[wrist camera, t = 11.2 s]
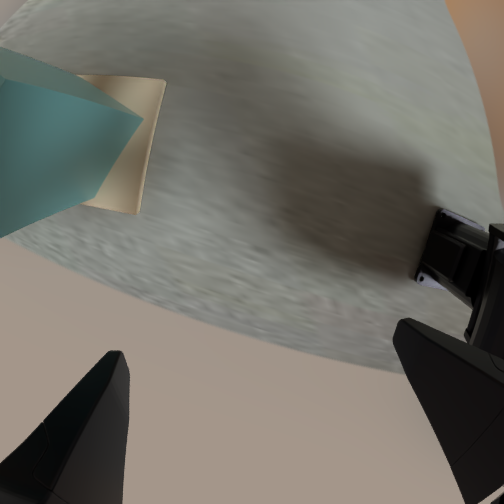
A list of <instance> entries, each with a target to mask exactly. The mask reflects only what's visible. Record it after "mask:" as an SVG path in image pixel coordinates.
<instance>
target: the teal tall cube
mask: <svg viewBox="0 0 504 504" xmlns="http://www.w3.org/2000/svg"><path fill="white" fill-rule="evenodd" d="M143 120H144V119H143V118H142V117H140V116H139V115H137V114H136V113H134V112H133V111H131V110H130V109H128V108H127V107H125V106H124V105H122V104H121V103H119V102H118V101H116V100H115V99H113V98H112V97H110V96H109V95H107V94H106V93H104V92H103V91H101V90H100V89H98V88H97V87H95V86H94V85H92V84H90V83H89V82H87V81H86V80H84V79H83V78H81V77H79V76H76V75H74V74H72V73H69V72H67V71H64V70H62V69H59V68H57V67H54V66H52V65H49V64H47V63H44V62H42V61H39V60H36V59H34V58H31V57H28V56H25V55H22V54H20V53H17V52H14V51H11V50H8V49H5V48H2V47H0V238H2V237H4V236H6V235H8V234H10V233H12V232H14V231H16V230H19V229H21V228H23V227H25V226H27V225H30V224H32V223H34V222H36V221H39V220H41V219H43V218H45V217H48V216H50V215H53V214H55V213H57V212H60V211H62V210H65V209H67V208H70V207H72V206H75V205H77V204H80V203H82V202H85V201H88V200H90V199H93V198H95V196H96V194H97V192H98V191H99V189H100V187H101V185H102V184H103V182H104V180H105V178H106V177H107V175H108V173H109V172H110V170H111V168H112V167H113V165H114V163H115V162H116V160H117V159H118V157H119V155H120V154H121V152H122V151H123V149H124V148H125V146H126V145H127V143H128V142H129V140H130V139H131V137H132V136H133V134H134V133H135V131H136V130H137V128H138V127H139V125H140V124H141V123H142V121H143Z"/></svg>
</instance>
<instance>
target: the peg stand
mask: <svg viewBox="0 0 504 504" xmlns="http://www.w3.org/2000/svg"><path fill="white" fill-rule="evenodd" d="M76 76H79V77H81V78H83V79H84V80H86V81H87V82H89V83H90V84H92V85H94V86H95V87H97V88H98V89H100V90H101V91H103V92H104V93H106V94H107V95H109V96H110V97H112V98H113V99H115V100H116V101H118V102H119V103H121V104H122V105H124V106H125V107H127V108H128V109H130V110H131V111H133V112H134V113H136V114H137V115H139V116H140V117H142V118H143V119H144V120H143V121H142V123H141V124H140V125H139V127H138V128H137V130H136V131H135V133H134V134H133V136H132V137H131V139H130V140H129V142H128V143H127V145H126V146H125V148H124V149H123V151H122V152H121V154H120V155H119V157H118V159H117V160H116V162H115V163H114V165H113V167H112V168H111V170H110V172H109V173H108V175H107V177H106V178H105V180H104V182H103V184H102V185H101V187H100V189H99V191H98V192H97V194H96V196H95V198H93V199H90V200H88V201H85V202H82V203H80V204H83V205H88V206H93V207H98V208H103V209H108V210H113V211H118V212H123V213H128V214H133V215H136V214H137V213H139V212H140V207H141V200H142V194H143V188H144V182H145V176H146V171H147V166H148V160H149V155H150V150H151V146H152V141H153V136H154V132H155V127H156V123H157V119H158V115H159V111H160V107H161V103H162V99H163V95H164V91H165V88H166V84H167V83H166V82H165V81H164V80H162V79H152V78H142V77H128V76H110V75H76Z"/></svg>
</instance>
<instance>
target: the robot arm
mask: <svg viewBox="0 0 504 504" xmlns="http://www.w3.org/2000/svg"><path fill="white" fill-rule="evenodd" d="M442 213H443V216H442V217H441V214H442ZM489 232H490V233H487V232H485V228H484V227H482V226H480V225H478V224H476V223H474V222H472V221H470V220H467V219H465V218H463V217H461V216H459V215H456V214H454V213H452V212H449V211H447V210H445V209H439V210H438V211H437V213H436V216H435V220H434V223H433V226H432V229H431V232H430V236H429V239H428V242H427V245H426V247H425V250H424V253H423V256H422V259H421V262H420V264H419V267H418V270H417V272H416V275H415V282H417V283H418V284H420V285H424V286H429V287H433V288H438V289H443V290H447V291H449V292H451V293H452V294H453V295H455V296H456V297H457V298H459V299H460V300H461V301H462V302H464V303H465V304H466V305H467V306H469V307H470V308H471V309H472V310H473V311H472V314H471V317H470V321H469V324H468V327H467V328H466V330H465V333H464V337H465V339H466V341H467V343H465V342H463V341H461V340H459V339H456V338H454V337H452V336H450V335H448V334H445V333H443V332H441V331H439V330H436V329H434V328H432V327H430V326H428V325H425V324H423V323H421V322H419V321H416V320H414V319H412V318H404V319H401V320H399V321H398V324H397V327H396V330H395V333H394V335H393V345H394V347H395V350H396V352H397V354H398V357H399V359H400V361H401V364H402V366H403V369H404V371H405V374H406V376H407V378H408V380H409V382H410V384H411V386H412V388H413V390H414V392H415V394H416V395H417V398H418V399H419V402H420V404H421V406H422V408H423V410H424V412H425V414H426V416H427V418H428V420H429V422H430V424H431V426H432V428H433V430H434V432H435V434H436V436H437V438H438V441H439V442H440V445H441V447H442V449H443V452H444V454H445V456H446V458H447V460H448V462H449V464H450V466H451V470H452V472H453V475H454V477H455V479H456V482H457V484H458V487H459V489H460V492H461V494H462V497H463V499H464V502H465V504H478V503H479V502H481V501H482V500H484V499H485V498H487V497H488V496H489V495H491V494H492V493H493V492H495V491H496V490H497V489H499V488H500V487H501V486H503V487H504V224H489ZM421 276H422V277H421ZM420 277H421V279H420V280H419V278H420ZM129 386H130V373H129V368H128V366H127V363H126V360H125V357H124V354H123V353H122V351H118V350H117V351H113V350H111V351H108V352H107V353H106V354H105V355H104V356H103V357H102V358H101V359H100V360H99V362H98V363H96V364H95V366H94V367H93V368H92V369H91V370H90V371H89V372H88V373H87V374H86V375H85V376H84V377H83V378H82V379H81V380H80V381H79V382H78V383H77V385H76V386H75V387H74V388H73V389H72V390H71V391H70V392H69V393H68V394H67V396H65V397H64V398H63V400H62V401H61V402H60V403H59V404H58V405H57V406H56V407H55V408H54V409H53V410H52V412H51V413H50V414H49V415H48V416H47V417H46V418H45V419H44V421H43V422H42V423H40V425H39V426H38V427H37V428H36V429H35V430H34V431H33V432H32V433H31V434H30V435H29V436H28V437H27V439H26V440H25V441H24V442H23V443H21V444H20V445H19V446H18V447H17V448H16V449H15V450H14V451H13V452H12V453H11V454H10V455H9V456H7V457H6V458H5V459H4V460H3V461H2V462H1V463H0V504H122V500H123V480H124V466H125V455H126V444H127V434H128V426H129ZM491 504H504V492H503V493H502V494H501V495H499V496H498V497H497V498H496V499H495V500H494V501H492V502H491Z"/></svg>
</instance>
